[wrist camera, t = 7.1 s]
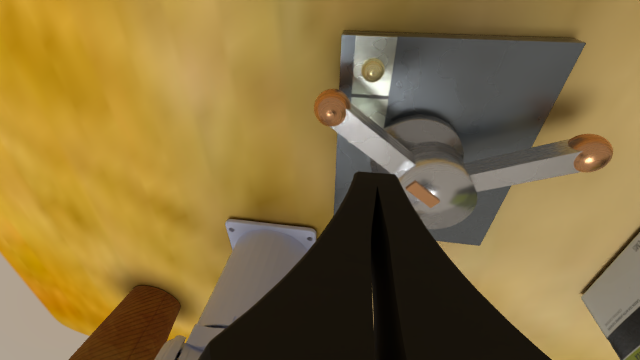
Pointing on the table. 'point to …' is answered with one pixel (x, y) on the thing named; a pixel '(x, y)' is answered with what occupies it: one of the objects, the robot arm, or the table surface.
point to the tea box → (619, 302)
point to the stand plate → (454, 98)
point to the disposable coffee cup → (133, 328)
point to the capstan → (450, 158)
